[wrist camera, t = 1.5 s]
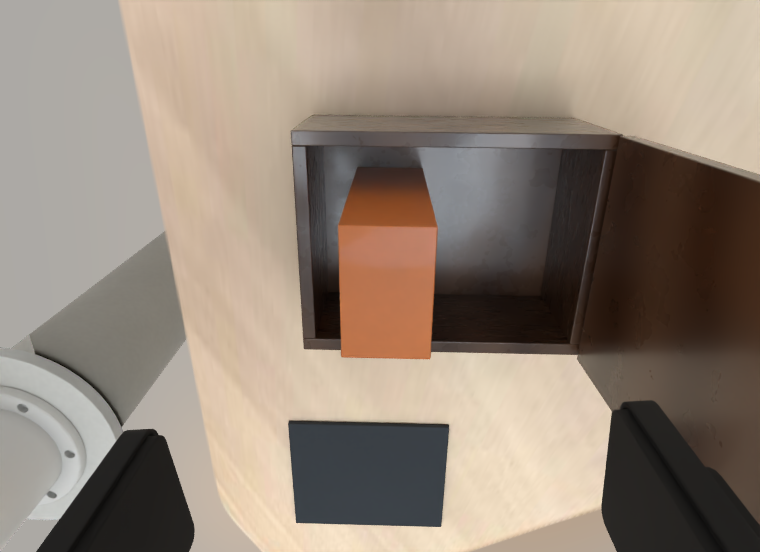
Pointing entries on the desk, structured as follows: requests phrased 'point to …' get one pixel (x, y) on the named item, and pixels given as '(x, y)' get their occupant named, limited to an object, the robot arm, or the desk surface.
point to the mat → (368, 472)
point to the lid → (682, 303)
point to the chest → (467, 222)
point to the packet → (387, 265)
